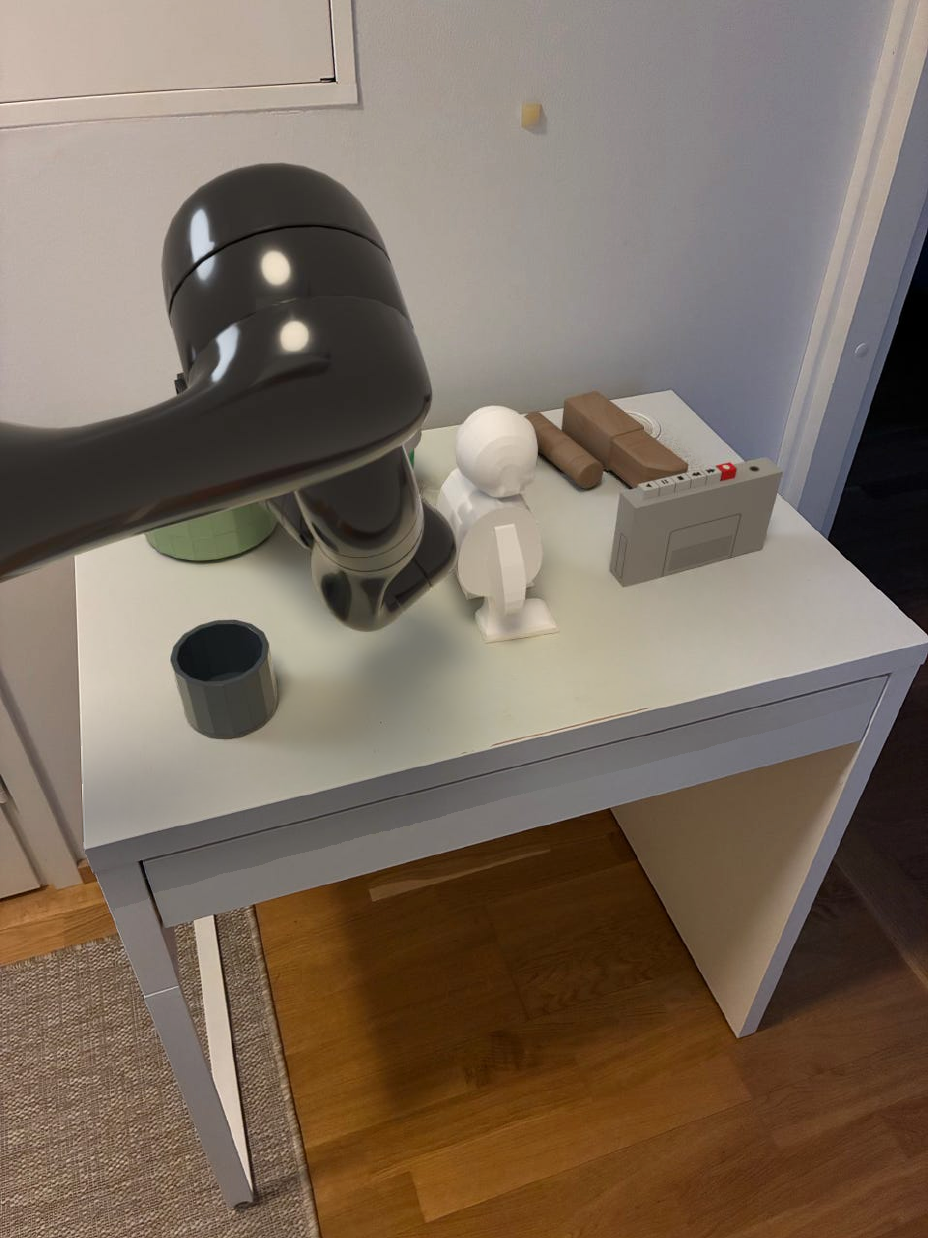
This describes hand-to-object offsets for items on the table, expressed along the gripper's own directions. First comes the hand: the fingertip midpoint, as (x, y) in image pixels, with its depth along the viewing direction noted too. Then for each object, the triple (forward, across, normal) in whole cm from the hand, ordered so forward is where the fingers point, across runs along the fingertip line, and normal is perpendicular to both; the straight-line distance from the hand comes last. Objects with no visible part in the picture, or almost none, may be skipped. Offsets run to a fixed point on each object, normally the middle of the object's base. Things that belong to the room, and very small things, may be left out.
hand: (192, 379), depth 89 cm
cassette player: (-34, -33, +15) cm, 50 cm away
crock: (-26, +11, +14) cm, 32 cm away
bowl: (-3, +2, +14) cm, 15 cm away
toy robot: (-29, -14, +15) cm, 35 cm away
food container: (-10, -15, +15) cm, 23 cm away
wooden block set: (-17, -33, +15) cm, 40 cm away
